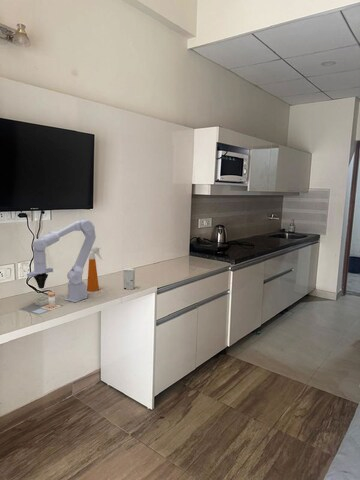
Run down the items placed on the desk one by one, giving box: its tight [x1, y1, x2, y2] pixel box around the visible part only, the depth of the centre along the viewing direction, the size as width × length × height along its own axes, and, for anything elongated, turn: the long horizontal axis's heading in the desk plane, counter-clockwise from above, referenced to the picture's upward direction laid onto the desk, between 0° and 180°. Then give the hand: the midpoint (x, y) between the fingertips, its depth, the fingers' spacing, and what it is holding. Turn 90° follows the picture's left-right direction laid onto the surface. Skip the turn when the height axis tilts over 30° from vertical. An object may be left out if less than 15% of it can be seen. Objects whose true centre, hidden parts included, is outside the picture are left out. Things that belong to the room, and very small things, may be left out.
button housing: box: [34, 298, 48, 306], centre depth 179 cm, size 5×5×2 cm
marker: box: [47, 291, 56, 308], centre depth 174 cm, size 3×3×8 cm
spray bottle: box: [86, 246, 104, 292], centre depth 203 cm, size 7×11×26 cm, turn 71°
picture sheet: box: [18, 303, 64, 315], centre depth 174 cm, size 15×15×1 cm
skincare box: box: [122, 267, 136, 290], centre depth 208 cm, size 6×4×12 cm
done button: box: [37, 296, 47, 302], centre depth 179 cm, size 3×3×2 cm
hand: (41, 288), depth 178 cm, fingers closed
